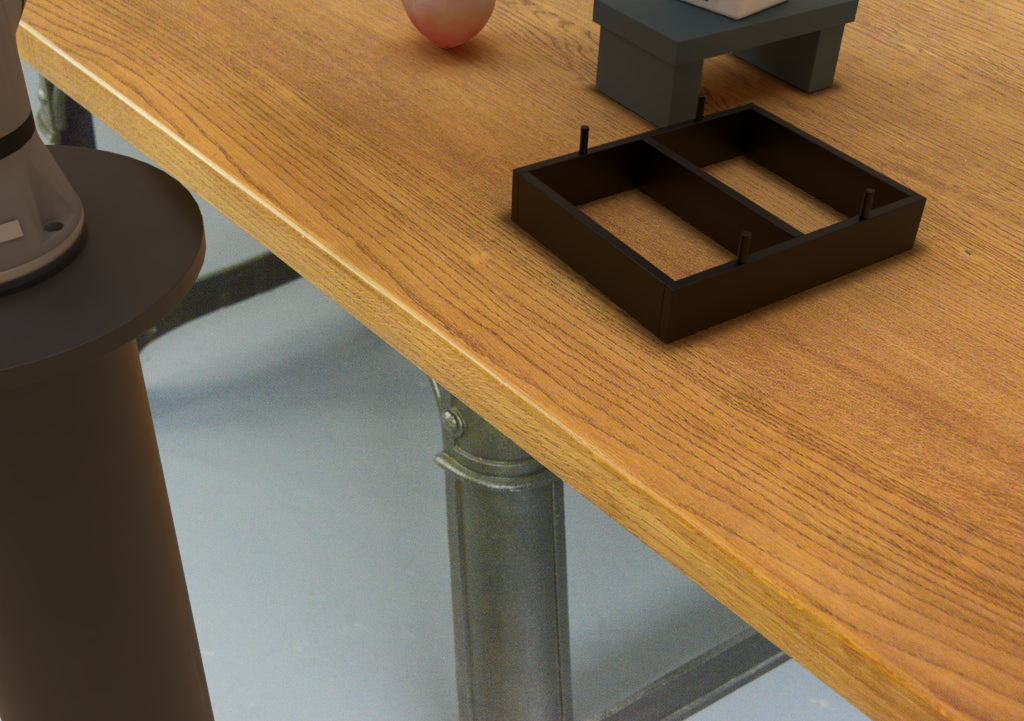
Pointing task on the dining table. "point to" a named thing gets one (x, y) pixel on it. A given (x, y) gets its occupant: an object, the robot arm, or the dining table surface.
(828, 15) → the stand
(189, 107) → the dining table surface
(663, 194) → the rack
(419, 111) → the dining table surface
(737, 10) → the container
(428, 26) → the decorative fruit
